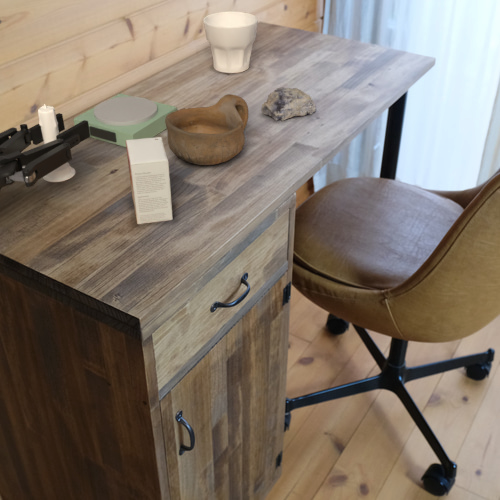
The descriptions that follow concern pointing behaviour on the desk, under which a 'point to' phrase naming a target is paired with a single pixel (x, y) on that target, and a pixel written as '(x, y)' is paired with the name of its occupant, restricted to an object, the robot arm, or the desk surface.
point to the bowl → (208, 131)
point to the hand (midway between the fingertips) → (74, 124)
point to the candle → (49, 134)
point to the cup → (231, 39)
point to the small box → (149, 180)
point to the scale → (126, 119)
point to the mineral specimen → (288, 104)
